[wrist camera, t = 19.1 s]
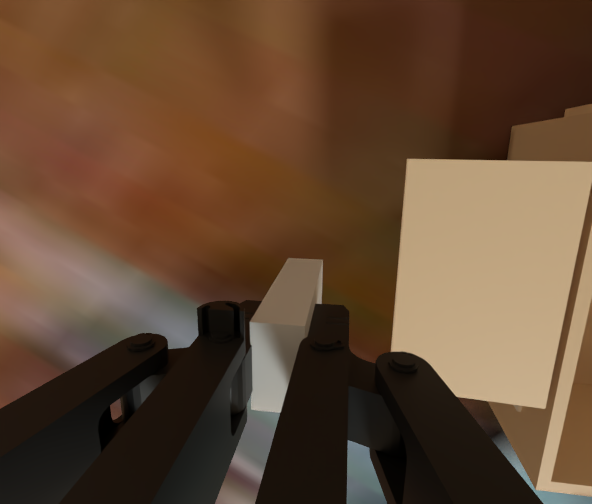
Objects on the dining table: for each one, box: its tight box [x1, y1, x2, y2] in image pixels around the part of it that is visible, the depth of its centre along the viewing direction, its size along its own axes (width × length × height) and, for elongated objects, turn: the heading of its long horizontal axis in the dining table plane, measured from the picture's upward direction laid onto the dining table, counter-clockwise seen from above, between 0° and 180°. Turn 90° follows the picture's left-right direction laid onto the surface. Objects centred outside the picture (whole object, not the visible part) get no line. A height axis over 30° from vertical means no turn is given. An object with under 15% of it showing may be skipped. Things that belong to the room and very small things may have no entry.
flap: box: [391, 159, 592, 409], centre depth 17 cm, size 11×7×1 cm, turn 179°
